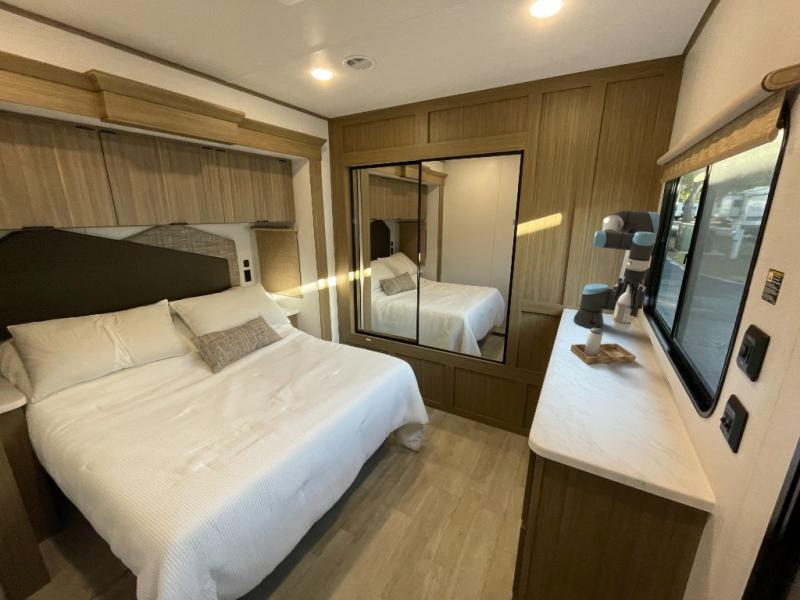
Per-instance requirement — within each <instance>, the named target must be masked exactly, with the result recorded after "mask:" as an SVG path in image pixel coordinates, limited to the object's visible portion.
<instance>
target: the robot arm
mask: <svg viewBox="0 0 800 600" xmlns="http://www.w3.org/2000/svg"><path fill="white" fill-rule="evenodd" d="M601 227H602V228H601V230H597V231H595V233H594V237H593V241H592V246H593V247H595V248H599V249H611V250H612V249H613V250H622V251H625V252H624V253H625V254H624V256H623V259H622V260H623V261H622V264H621V270H620V273H619V278H618V281H617V283H615V284H614V285H613V287H612V288H610V286H609V285H607V284H605V283H589V284H586V285H584V288H583V291H582V296H581V300H580V304H579V309H578V310H577V312H576V313H575V315H574V316H573V320H572V321H573V323H575V324H576V325H578V326H579V327H580V326H581V327H583V328H589V329H591V328H599V329H601V328H602V329H603V326H604V315H603V312H604V310H608V311H613V316H614V313H615V310H616V306H617V302H618V299H619V298H620V296H621V295H622V294H624V293H625V292H626V289H627V286H628V284H629V287H630V293H631V308H629V310H628V314H627V318H626V321H625V322H631V323H633V321H634V318H635V316H636V314H637V311H638V310H642V309H643V306H644V299H645V294H646V291H647V289H648V287H647V286H644V285H643V283H642V282H643V281H644V279H646V275H647V270H648V268H649V265H650V260H651V256H652V253H653V251H654V247H655V244H656V242H657V241H656V240H657V234H658V232H659V227H660V215H659V213H658V212H656V211H647V210H646V211H643V210H639V211H638V210H618V211H615V212H612V213H610V214H608V215H606V216H605V217H604V219H603V220H602V223H601Z"/></svg>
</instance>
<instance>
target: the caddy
mask: <svg viewBox="0 0 800 600" xmlns="http://www.w3.org/2000/svg"><path fill="white" fill-rule="evenodd" d="M585 345H586V343H577V344H571V345H570V351H571V353H573V354H574V355H575V356H576V357H577V358H578V359H579V360H581V361H582V362H583V363H584V364H585V365H603V364H604V365H607V364H609V365H610V364H612V365H613V364H634V363H635V361H636V358H637V356H636V355H634V354H633V353H631V352H630V351H628V350H627V349H625V348H624V347H622V346H621V345H620V344H618V343H614V342H612V343H601V344H600V348H599V352H598V356H597V357H588V356H587V355H585V354H584V350H585Z"/></svg>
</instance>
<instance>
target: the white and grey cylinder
mask: <svg viewBox="0 0 800 600" xmlns="http://www.w3.org/2000/svg"><path fill="white" fill-rule="evenodd" d="M603 335H604V333H603V329H601V328H590V329H589V330H588V333H587V337H586V343H585V344H586V345H585V350H584V354H585V355H587V356H588V357H597V356H598V352H599V348H600V344H602V339H603Z"/></svg>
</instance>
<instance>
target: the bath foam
mask: <svg viewBox="0 0 800 600" xmlns="http://www.w3.org/2000/svg"><path fill="white" fill-rule="evenodd" d="M629 308H631V293H630V287H629V284H628V286H627V289H626V292H625V293H624V294H622V295H621V296H620V298H619V299H618V302H617V306H616V310H615V313H614V312H613V314H614V315H613V318H612V321H611V325H612V327H614V328H616V329H619V330H629V329H630V327H631V326H632V322H625V321H626V318H627V314H628V310H629Z"/></svg>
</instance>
